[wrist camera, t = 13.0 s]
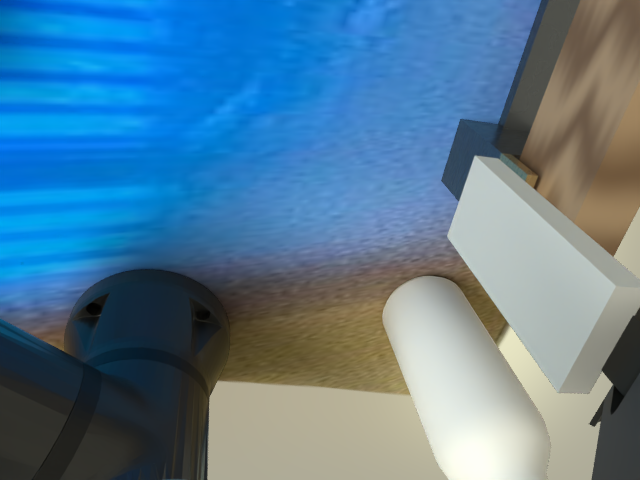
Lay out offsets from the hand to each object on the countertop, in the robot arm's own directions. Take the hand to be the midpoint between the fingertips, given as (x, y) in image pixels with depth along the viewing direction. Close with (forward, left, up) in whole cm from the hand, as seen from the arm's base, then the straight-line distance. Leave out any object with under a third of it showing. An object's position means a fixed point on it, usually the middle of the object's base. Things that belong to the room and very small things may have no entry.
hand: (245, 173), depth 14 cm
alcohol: (-25, -22, -29) cm, 44 cm away
